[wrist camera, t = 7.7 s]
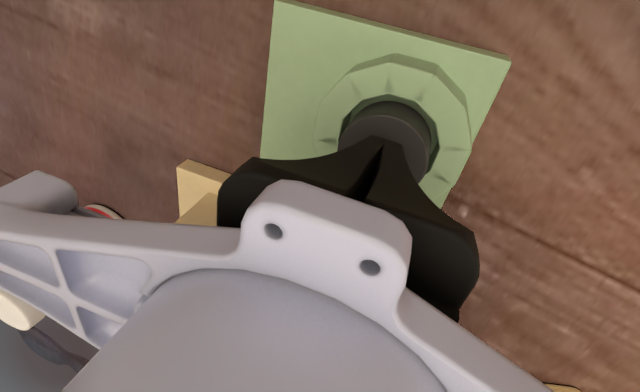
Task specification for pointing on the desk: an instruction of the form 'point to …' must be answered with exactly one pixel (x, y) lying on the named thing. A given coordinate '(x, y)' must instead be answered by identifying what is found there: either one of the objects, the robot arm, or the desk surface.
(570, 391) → the grandmother figurine
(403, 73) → the button box
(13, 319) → the pill bottle
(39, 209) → the robot arm
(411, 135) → the button
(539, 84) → the desk surface
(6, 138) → the desk surface
